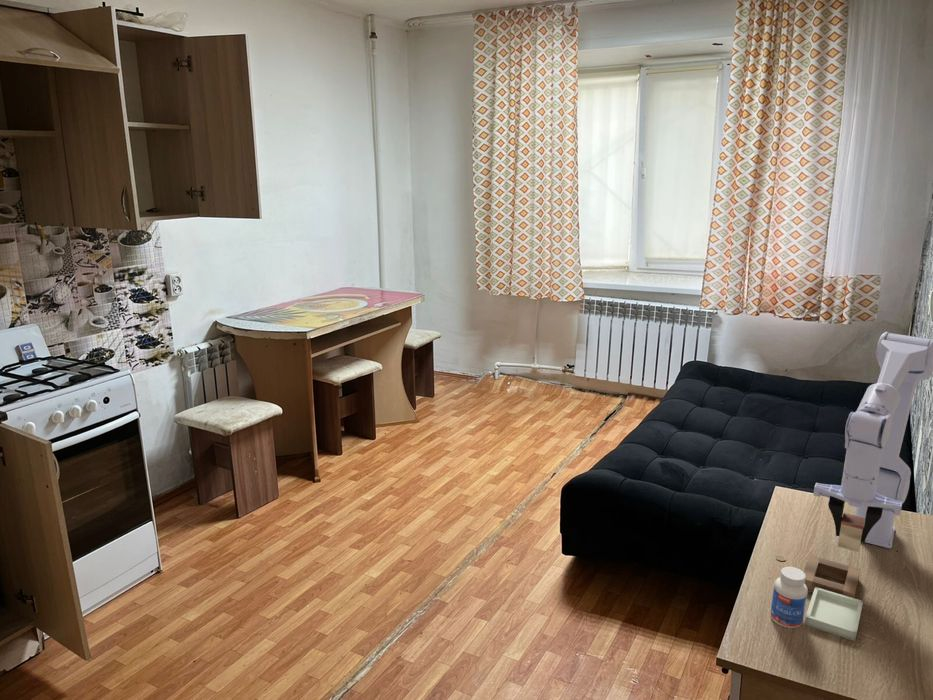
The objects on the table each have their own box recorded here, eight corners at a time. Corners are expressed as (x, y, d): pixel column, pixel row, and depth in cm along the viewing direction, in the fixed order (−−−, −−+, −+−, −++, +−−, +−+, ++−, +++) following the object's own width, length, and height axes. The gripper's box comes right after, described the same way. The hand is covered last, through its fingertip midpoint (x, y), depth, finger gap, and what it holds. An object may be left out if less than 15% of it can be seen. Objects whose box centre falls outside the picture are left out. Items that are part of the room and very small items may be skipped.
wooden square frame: (808, 565, 142) (809, 554, 142) (858, 579, 138) (860, 568, 137) (800, 588, 135) (801, 578, 135) (852, 604, 131) (854, 593, 130)
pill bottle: (770, 625, 126) (776, 578, 123) (769, 606, 131) (775, 561, 128) (804, 632, 124) (811, 584, 121) (801, 612, 129) (808, 567, 126)
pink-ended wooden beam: (839, 537, 139) (843, 512, 137) (861, 542, 137) (865, 517, 135) (837, 546, 136) (841, 521, 134) (859, 552, 134) (863, 526, 132)
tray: (813, 594, 134) (815, 586, 133) (861, 609, 129) (863, 600, 129) (804, 624, 126) (805, 616, 125) (855, 641, 122) (856, 632, 121)
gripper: (814, 472, 132) (805, 535, 137) (904, 492, 125) (892, 558, 129) (820, 458, 138) (811, 519, 142) (906, 475, 130) (895, 540, 134)
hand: (850, 536), depth 136 cm, fingers closed on pink-ended wooden beam, 4 cm apart
